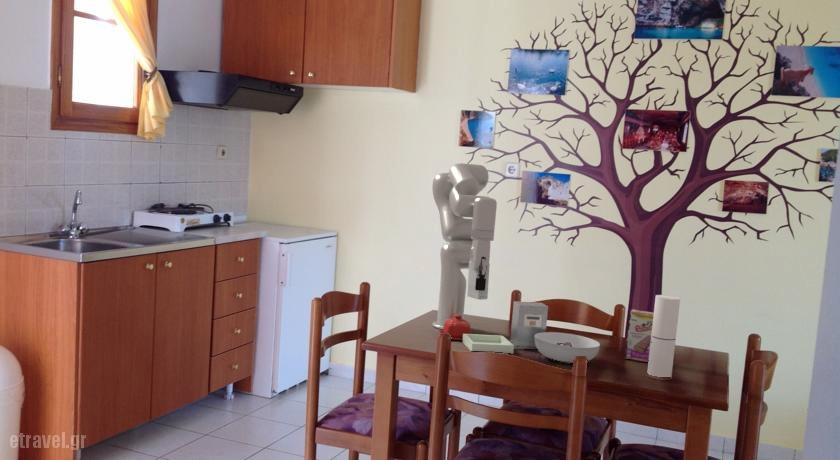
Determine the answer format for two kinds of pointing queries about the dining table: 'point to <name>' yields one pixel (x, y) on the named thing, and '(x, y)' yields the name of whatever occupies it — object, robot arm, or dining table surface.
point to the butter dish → (456, 327)
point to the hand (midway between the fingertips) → (477, 287)
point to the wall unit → (527, 323)
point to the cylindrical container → (663, 335)
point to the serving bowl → (580, 346)
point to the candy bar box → (639, 334)
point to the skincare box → (472, 282)
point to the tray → (487, 343)
